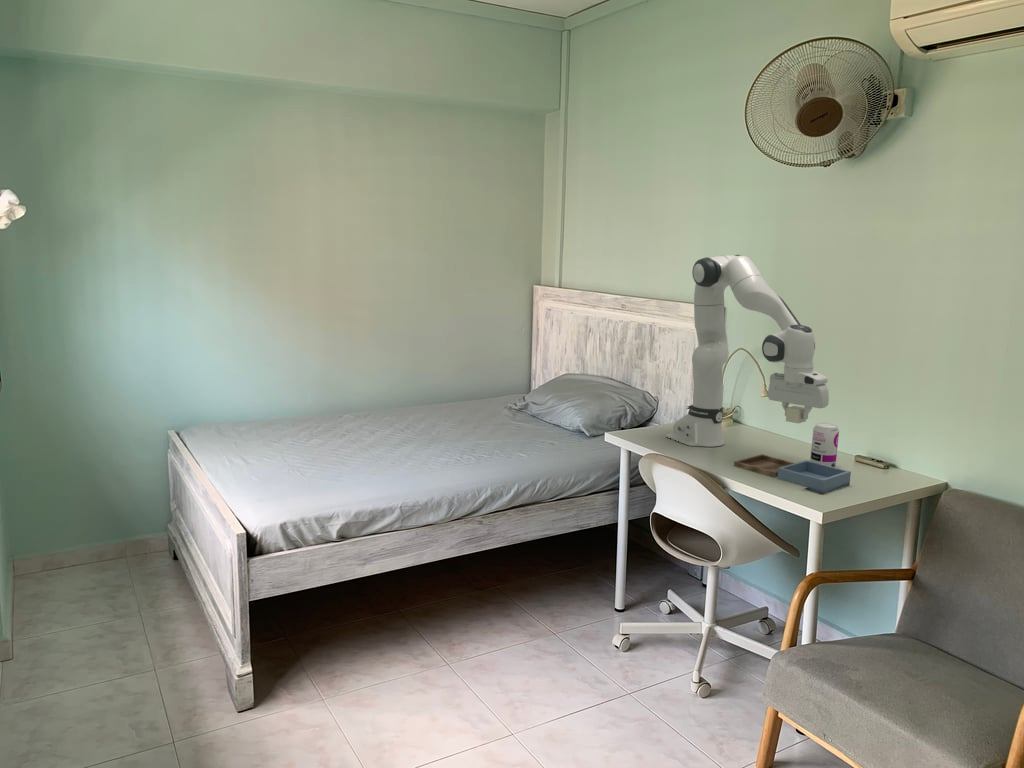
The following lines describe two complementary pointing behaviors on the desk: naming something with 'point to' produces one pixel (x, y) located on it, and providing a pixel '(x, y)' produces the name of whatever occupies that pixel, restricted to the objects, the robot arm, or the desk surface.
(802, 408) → the sandstone block
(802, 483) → the slate-blue bin
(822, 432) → the supplement can
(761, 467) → the walnut tray
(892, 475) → the desk surface
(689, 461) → the desk surface
